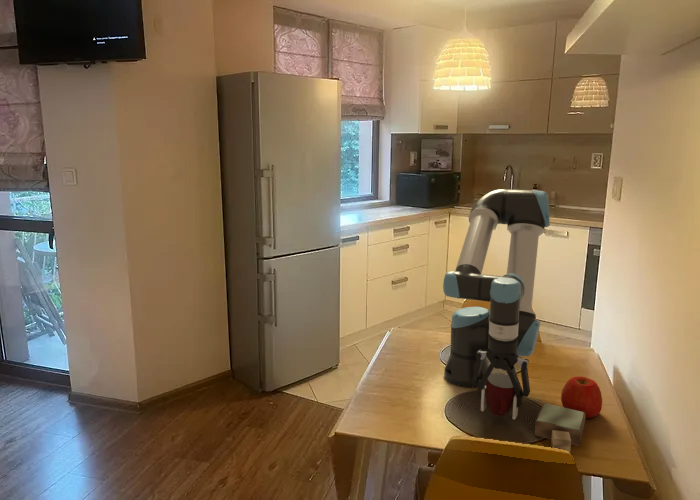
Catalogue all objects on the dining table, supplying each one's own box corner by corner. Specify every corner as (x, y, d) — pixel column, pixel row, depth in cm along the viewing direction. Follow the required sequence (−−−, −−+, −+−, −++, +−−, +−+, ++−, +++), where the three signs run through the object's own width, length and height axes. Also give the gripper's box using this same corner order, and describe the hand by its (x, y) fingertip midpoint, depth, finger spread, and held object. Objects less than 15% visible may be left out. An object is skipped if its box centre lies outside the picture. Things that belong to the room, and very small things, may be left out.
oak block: (552, 452, 133) (554, 438, 132) (551, 444, 136) (552, 430, 136) (569, 455, 132) (571, 440, 131) (567, 446, 135) (568, 432, 135)
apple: (560, 418, 149) (563, 383, 146) (559, 400, 159) (562, 367, 156) (602, 425, 145) (606, 389, 143) (599, 406, 155) (602, 372, 153)
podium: (534, 434, 140) (535, 420, 140) (542, 416, 150) (543, 402, 149) (579, 446, 135) (580, 431, 134) (584, 426, 144) (585, 411, 143)
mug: (519, 426, 142) (524, 393, 139) (489, 425, 142) (493, 392, 139) (508, 404, 152) (512, 373, 149) (480, 403, 152) (484, 372, 149)
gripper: (460, 333, 143) (458, 409, 149) (541, 348, 133) (535, 429, 138) (469, 324, 149) (466, 397, 155) (546, 338, 139) (540, 415, 145)
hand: (498, 412), depth 147 cm, fingers closed on mug, 8 cm apart
